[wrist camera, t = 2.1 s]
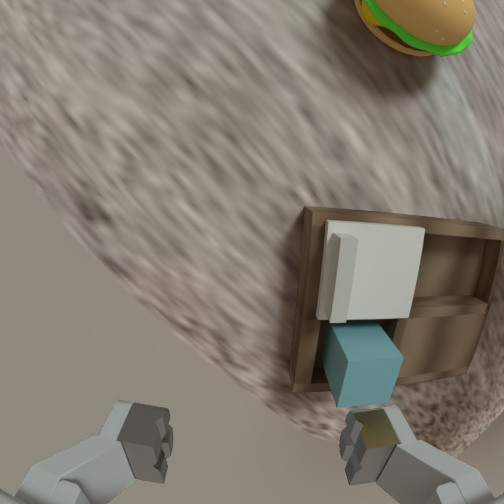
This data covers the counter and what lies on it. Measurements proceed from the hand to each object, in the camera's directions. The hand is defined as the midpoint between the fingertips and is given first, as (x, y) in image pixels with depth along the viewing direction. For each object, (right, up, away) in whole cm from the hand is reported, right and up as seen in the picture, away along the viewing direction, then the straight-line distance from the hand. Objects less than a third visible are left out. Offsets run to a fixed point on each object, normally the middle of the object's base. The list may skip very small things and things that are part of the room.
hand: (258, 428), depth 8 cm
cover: (+9, +3, +15) cm, 18 cm away
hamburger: (+14, +28, +13) cm, 34 cm away
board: (+14, +1, +20) cm, 24 cm away
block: (+9, -3, +20) cm, 22 cm away
